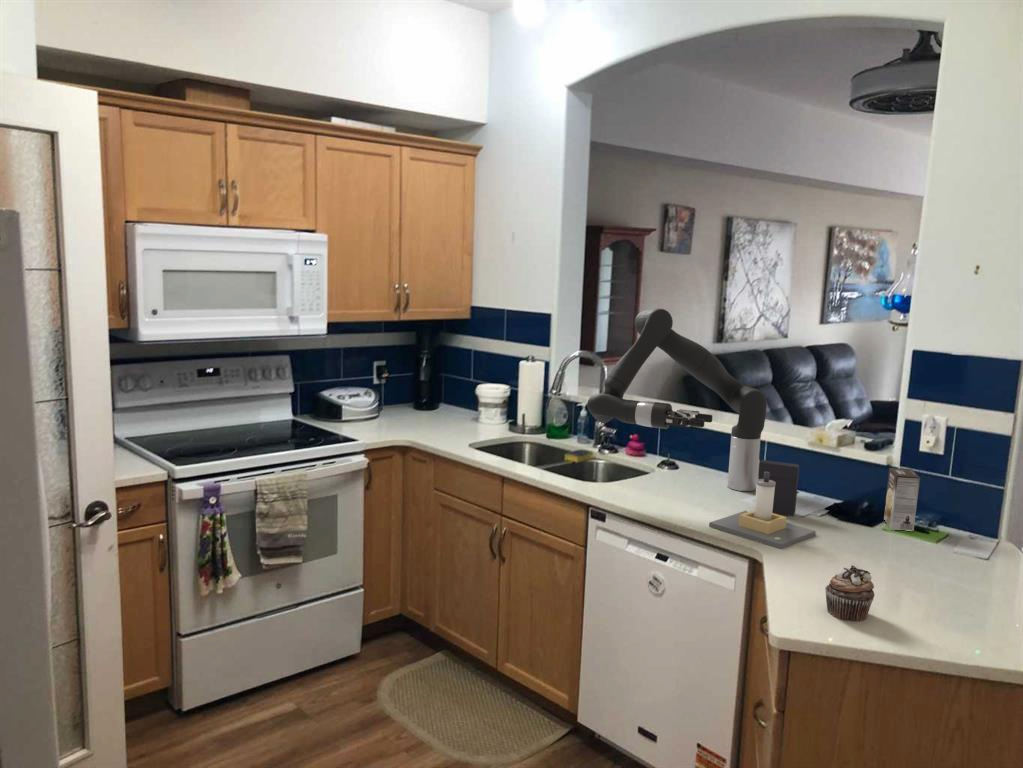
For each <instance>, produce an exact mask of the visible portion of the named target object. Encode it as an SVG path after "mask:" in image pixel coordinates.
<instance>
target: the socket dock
mask: <svg viewBox="0 0 1023 768" xmlns="http://www.w3.org/2000/svg"><path fill="white" fill-rule="evenodd" d="M753 517H754V509H753V510H750V511H748V510H744V511H740V512H737V513H734V514H732V515H728V516H725V517H722V518H719V519H716V520H713V521H710V522H709V525H708V527H710V528H713V529H715V530H719V531H721V532H726V533H728V532H729V534H731V533H732V535H735V536H738V535H739V536H738V537H741V536H742V538H744V537H745V539H748V540H751V539H752V541H754V540H755V542H757V541H758V542H757V543H760V542H761V544H764V545H768V546H771V547H773V548H777V549H780V550H781V549H784V548H787V547H789V546H792V545H793V544H796V543H799V542H802V541H804V540H806V539H809V538H812V537H815V536H816V534H817V533H816V532H817V531H816V530H814V529H811V528H807V527H804V526H800V525H797V524H793V523H790V522H787V521H788V520H787V519H788V516H785V515H782V514H776V513H772V520H770V521H768V522H767V521H764V520H760V519H757V518H753Z"/></svg>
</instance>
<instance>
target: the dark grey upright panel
mask: <svg viewBox="0 0 1023 768" xmlns="http://www.w3.org/2000/svg"><path fill="white" fill-rule="evenodd" d="M764 472H770V475H769V480H772V481H775V482H776V485H775V491H774V501H773V511H772V513H774V514H777V515H782V516H791V517H794V516H795V514H796V510H797V509H796V507H797V498H798V495H797V494H798V486H799V485H798V484H799V473H800V464H797V463H790V462H780V461H773V460H767V459H766V460H765V459H761V460H760V463H759V473H758V479H764Z"/></svg>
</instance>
